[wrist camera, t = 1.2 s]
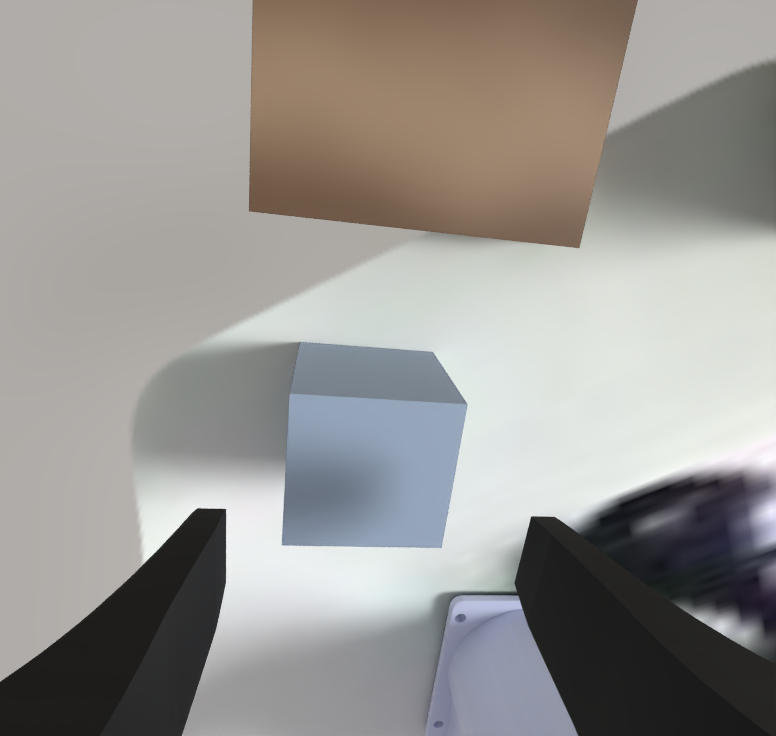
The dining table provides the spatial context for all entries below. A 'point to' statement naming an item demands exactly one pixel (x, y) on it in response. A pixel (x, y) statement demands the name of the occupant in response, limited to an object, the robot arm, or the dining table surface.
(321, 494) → the slate cube
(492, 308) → the dining table surface
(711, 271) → the dining table surface
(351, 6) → the walnut base
